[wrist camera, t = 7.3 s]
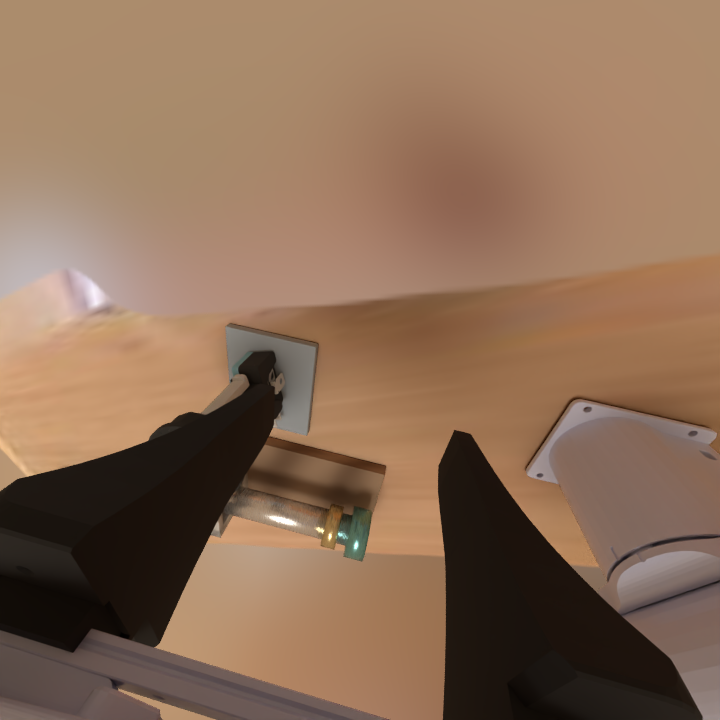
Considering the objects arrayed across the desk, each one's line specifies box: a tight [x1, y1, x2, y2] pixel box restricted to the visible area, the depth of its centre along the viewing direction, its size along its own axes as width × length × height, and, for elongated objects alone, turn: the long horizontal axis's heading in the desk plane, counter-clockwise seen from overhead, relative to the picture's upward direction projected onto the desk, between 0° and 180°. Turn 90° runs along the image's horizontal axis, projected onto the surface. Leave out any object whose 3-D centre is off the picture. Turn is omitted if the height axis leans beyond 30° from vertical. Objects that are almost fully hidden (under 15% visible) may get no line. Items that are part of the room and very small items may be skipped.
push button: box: [149, 351, 285, 492], centre depth 20 cm, size 7×5×10 cm
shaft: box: [222, 486, 372, 561], centre depth 27 cm, size 15×4×4 cm, turn 81°
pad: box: [225, 324, 318, 436], centre depth 24 cm, size 7×9×1 cm
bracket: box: [211, 437, 386, 538], centre depth 28 cm, size 19×9×6 cm, turn 81°
